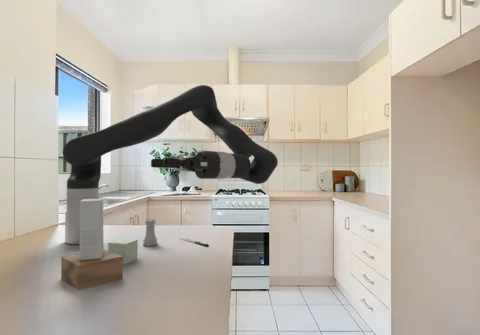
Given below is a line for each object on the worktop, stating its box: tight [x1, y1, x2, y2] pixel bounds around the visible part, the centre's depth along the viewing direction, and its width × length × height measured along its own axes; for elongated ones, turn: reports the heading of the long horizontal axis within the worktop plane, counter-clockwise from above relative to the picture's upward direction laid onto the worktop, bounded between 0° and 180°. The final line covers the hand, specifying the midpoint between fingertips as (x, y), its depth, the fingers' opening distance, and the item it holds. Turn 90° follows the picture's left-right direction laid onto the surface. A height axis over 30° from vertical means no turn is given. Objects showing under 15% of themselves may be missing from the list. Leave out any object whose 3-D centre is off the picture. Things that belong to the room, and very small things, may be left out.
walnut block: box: [60, 249, 124, 291], centre depth 67 cm, size 9×9×5 cm
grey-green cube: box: [107, 238, 139, 265], centre depth 81 cm, size 5×5×5 cm
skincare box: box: [79, 198, 105, 260], centre depth 67 cm, size 6×4×12 cm
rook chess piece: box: [142, 218, 158, 247], centre depth 98 cm, size 4×4×8 cm
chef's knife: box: [177, 237, 210, 248], centre depth 103 cm, size 19×1×3 cm
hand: (157, 162), depth 78 cm, fingers open, 8 cm apart
